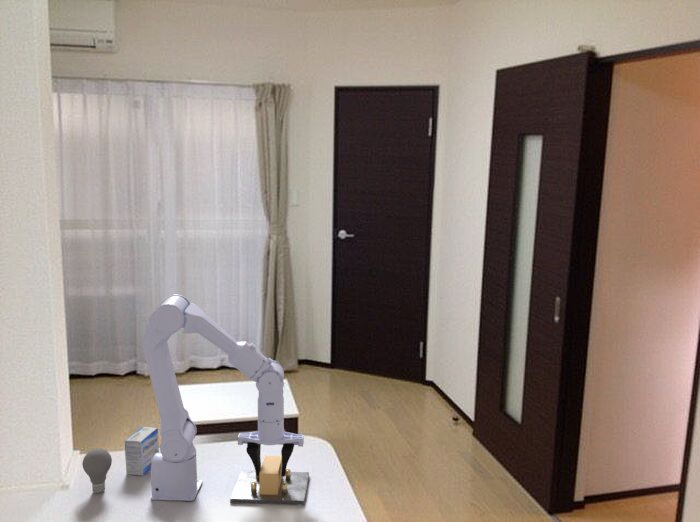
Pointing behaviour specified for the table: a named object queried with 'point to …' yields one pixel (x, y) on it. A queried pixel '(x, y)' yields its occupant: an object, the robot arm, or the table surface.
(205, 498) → the table surface
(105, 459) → the light bulb
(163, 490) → the robot arm
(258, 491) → the chassis plate
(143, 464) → the medicine box
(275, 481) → the ochre block
